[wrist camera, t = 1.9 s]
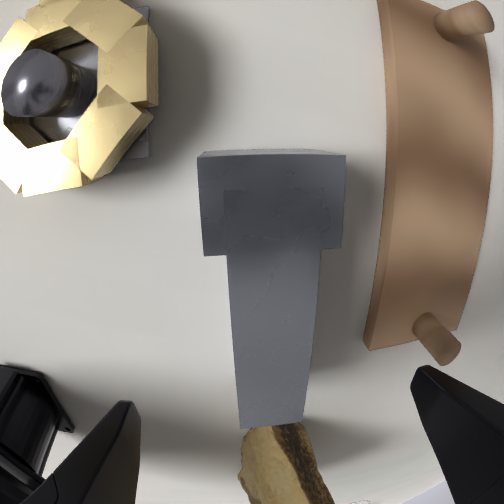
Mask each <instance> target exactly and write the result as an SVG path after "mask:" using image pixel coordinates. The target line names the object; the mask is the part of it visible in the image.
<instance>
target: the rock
mask: <svg viewBox="0 0 504 504" xmlns="http://www.w3.org/2000/svg"><path fill="white" fill-rule="evenodd" d="M241 451H242V452H241V455H242V456H243V457H242V460H241V462H242V466H243V469H242V470H241V472H240V473H239V474H238V480H239V481H240V483H241V485H242V487H243V489H244V490H245V492H246V493H247V494H248V497H249V501H250V503H251V504H335V503H334V501H333V498H332V496H331V494H330V492H329V490H328V488H327V487H326V485H325V484H324V482H323V479H322V477H321V475H320V473H319V472H318V469H317V463H316V459H315V456H314V453H313V449H312V446H311V443H310V440H309V438H308V436H307V433H306V430H305V429H304V427H302V426H301V425H300V424H298V423H297V422H296V423H289V424H282V425H274V426H265V427H255V428H253V429H251V430H250V431H249V432H248V433H247V435H246V437H244V438H243V445H242V447H241Z"/></svg>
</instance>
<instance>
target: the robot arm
mask: <svg viewBox="0 0 504 504" xmlns="http://www.w3.org/2000/svg"><path fill="white" fill-rule="evenodd" d="M410 389H411V393H412V395H413V398H414V401H415V404H416V407H417V410H418V413H419V416H420V419H421V422H422V425H423V427H424V429H425V432H426V434H427V436H428V438H429V441H430V443H431V445H432V447H433V450H434V452H435V454H436V457H437V459H438V461H439V464H440V466H441V469H442V471H443V474H444V476H445V479H446V481H447V484H448V486H449V489H450V491H451V494H452V497H453V499H454V502H455V504H504V404H502V403H500V402H498V401H496V400H495V399H493V398H491V397H489V396H487V395H485V394H483V393H481V392H479V391H477V390H475V389H473V388H472V387H470V386H468V385H466V384H464V383H462V382H460V381H458V380H456V379H454V378H453V377H451V376H449V375H447V374H445V373H443V372H441V371H439V370H438V369H436V368H434V367H432V366H430V365H425V366H422V367H419V368H418V369H417V370H416V372H415V375H414V377H413V380H412V382H411V386H410ZM74 429H75V427H74V426H73V424H72V423H71V421H70V420H69V418H68V417H67V415H66V414H65V412H64V410H63V409H62V407H61V406H60V404H59V403H58V401H57V399H56V398H55V396H54V394H53V393H52V391H51V389H50V387H49V386H48V384H47V382H46V380H45V379H44V377H43V376H42V375H41V374H39V373H37V372H31V371H26V370H20V369H15V368H9V367H4V366H0V504H135V498H136V490H137V482H138V475H139V466H140V435H141V419H140V416H139V414H138V412H137V409H136V407H135V405H134V403H133V402H132V401H126V400H120V401H118V402H117V403H116V404H115V405H114V406H113V408H112V409H111V410H110V411H109V412H108V413H107V414H106V415H105V416H104V417H103V418H102V420H101V421H100V422H99V423H98V424H97V425H96V426H95V427H94V428H93V429H92V430H91V431H90V433H89V434H88V435H87V436H86V437H85V438H84V439H83V440H82V441H81V442H80V443H79V445H78V446H77V447H76V448H75V449H74V450H73V451H72V452H71V453H70V454H69V455H68V456H67V458H66V459H65V460H64V461H63V462H62V463H61V464H60V465H59V466H58V467H57V468H56V470H55V471H54V472H53V473H52V474H51V475H50V476H49V477H48V478H47V479H44V478H43V477H42V473H43V470H44V467H45V464H46V461H47V459H48V456H49V453H50V450H51V447H52V445H53V442H54V439H55V436H56V434H57V431H58V430H59V431H64V432H69V433H73V432H74Z"/></svg>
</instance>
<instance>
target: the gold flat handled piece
mask: <svg viewBox="0 0 504 504" xmlns="http://www.w3.org/2000/svg"><path fill="white" fill-rule="evenodd" d="M154 33H155V32H154V31H153V29H152V28H151V26H150V25H149V23H148V22H147V20H146V19H145V17H144V16H143V15H142V14H140V13H139V12H137V11H136V10H134V9H132V8H131V7H129V6H128V5H126V4H124V3H123V2H121V1H120V0H40V2H39V5H37V6H35V7H33V8H31V9H28V10H27V13H26V18H25V20H24V19H22V18H20V17H19V18H18V19H17V20H16V22H15V23H14V24H13V26H12V27H11V29H10V30H9V31H8V33H7V34H6V36H5V37H4V39H3V40H2V42H1V43H0V178H1V179H2V180H3V181H4V182H5V183H6V184H7V185H8V186H9V187H10V188H11V189H12V190H13V191H14V192H15V193H16V194H17V193H20V192H22V191H23V195H24V197H25V196H30V195H35V194H40V193H45V192H51V191H56V190H62V189H68V188H74V187H80V186H84V185H86V184H89V183H91V182H94V181H96V180H99V179H101V178H102V176H103V175H106V174H108V173H111V171H112V170H113V169H114V167H115V166H116V165H117V163H118V162H119V161H120V159H121V158H122V157H123V155H124V154H125V153H126V151H127V150H128V149H129V148H130V146H131V145H132V144H133V142H134V141H135V140H136V139H137V137H138V136H139V135H140V134H141V133H142V131H143V130H144V129H145V128H146V126H147V125H148V124H149V123H150V122H151V121H152V119H153V118H154V116H153V115H152V114H151V113H150V112H148V111H147V110H146V109H145V108H148V107H155V106H159V97H158V46H159V41H158V39H157V38H156V36H155V35H154ZM86 39H89V40H90V41H91V42H93V43H94V44H96V45H97V46H98V47H99V48H98V72H97V96H96V98H95V99H94V100H93V102H92V103H91V104H90V106H89V107H88V108H87V110H86V111H85V112H84V114H83V115H82V117H81V118H80V119H79V121H78V122H77V124H76V125H75V127H74V128H73V130H72V131H71V133H70V134H69V136H68V137H67V139H65V140H61V141H57V142H53V143H49V142H47V141H46V140H45V139H44V138H43V137H42V136H41V135H40V134H39V133H38V132H37V131H36V130H35V129H34V128H33V127H32V126H31V125H30V124H29V117H17V116H12V115H10V114H8V113H7V112H6V111H5V109H4V107H3V105H2V101H1V86H2V82H3V79H4V76H5V74H6V72H7V70H8V68H9V67H10V65H11V64H12V62H13V61H14V60H15V59H16V58H17V57H18V56H19V55H21V54H22V53H24V52H26V51H28V50H31V49H41V50H43V51H46V52H48V53H51V52H52V51H53V50H56V49H59V48H61V47H64V46H67V45H70V44H73V43H77V42H80V41H83V40H86Z"/></svg>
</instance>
